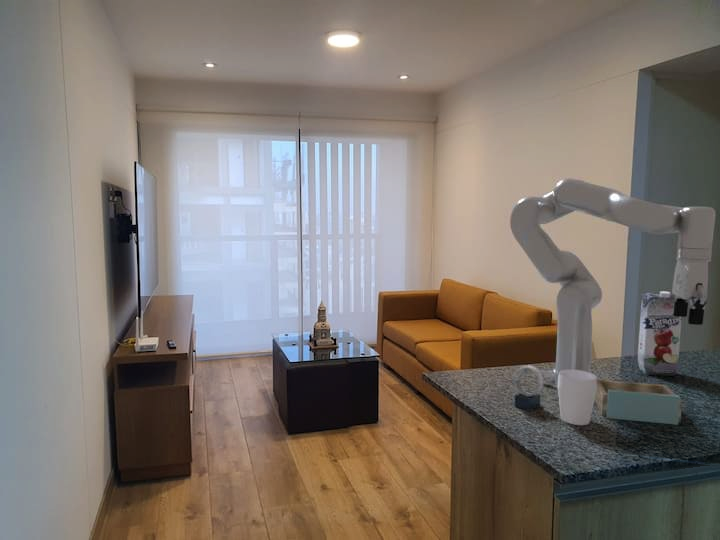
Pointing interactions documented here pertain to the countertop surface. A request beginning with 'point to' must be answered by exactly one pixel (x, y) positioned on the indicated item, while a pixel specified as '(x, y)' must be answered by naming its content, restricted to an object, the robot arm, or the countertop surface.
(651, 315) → the juice carton
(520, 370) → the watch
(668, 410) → the panel
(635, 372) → the countertop surface
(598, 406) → the crate
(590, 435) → the countertop surface
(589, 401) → the cup
